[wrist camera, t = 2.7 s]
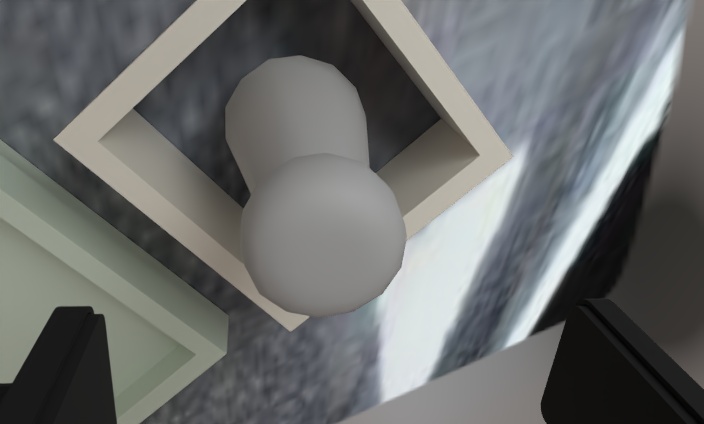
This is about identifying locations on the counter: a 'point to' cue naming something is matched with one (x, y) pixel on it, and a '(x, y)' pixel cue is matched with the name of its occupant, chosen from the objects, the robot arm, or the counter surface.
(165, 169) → the square frame
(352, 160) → the salt shaker
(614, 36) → the counter surface
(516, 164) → the counter surface
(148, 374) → the tray
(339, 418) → the counter surface
